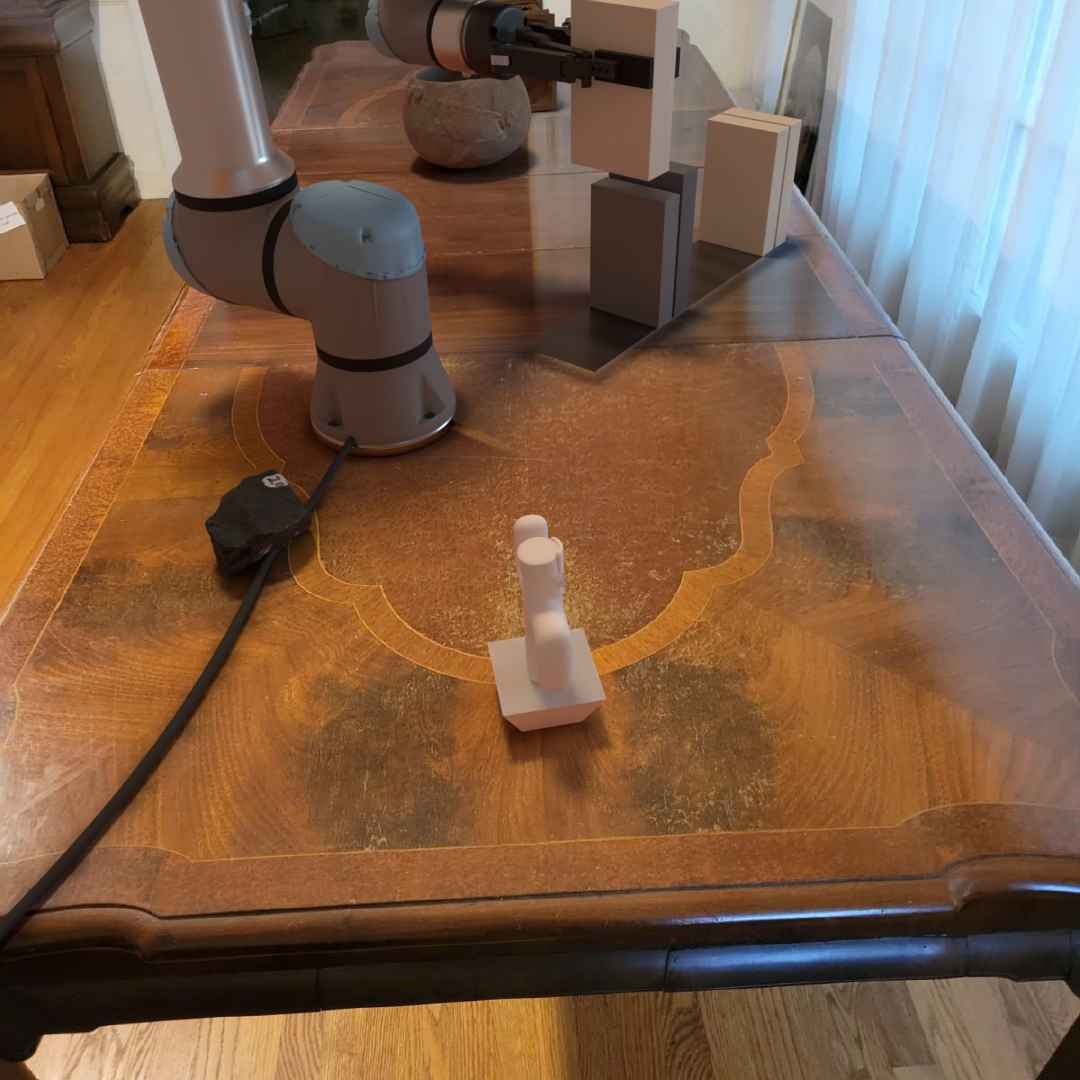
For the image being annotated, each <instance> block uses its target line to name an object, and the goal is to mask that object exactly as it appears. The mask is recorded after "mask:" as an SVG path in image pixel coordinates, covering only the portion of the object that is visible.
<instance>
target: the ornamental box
mask: <svg viewBox="0 0 1080 1080" xmlns="http://www.w3.org/2000/svg"><path fill="white" fill-rule="evenodd" d="M492 1H499V2H506V3H512V4H515V5H517V6H518V7H520V8H521V9H522V11H523V12H524V13H525V15H526V17H527V19H528V21H529V23H530V24H531V23H534V22H541V23H547V24H548V25H549V26H556V15H555V13H554V12H552V13H551V12H550V9H549V8H544V1H543V0H492ZM519 76H520V77H521V79H522V81H523V83H524V85H525V88H526V90H527V94H528V97H529V101H530V107H531V113H532V112H539V111H551V110H552V111H553V110H554V111H555V110H557V109H558V107H557V95H558V93H557V88H558V81H552V80H546V79H540V78H534V77H528V76H522V75H519Z"/></svg>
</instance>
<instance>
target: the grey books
mask: <svg viewBox="0 0 1080 1080" xmlns="http://www.w3.org/2000/svg"><path fill="white" fill-rule="evenodd" d="M698 172H699V167H698V166H696V165H690V164H686V163H681V162H677V161H674V160H673V161H672V160H669V171H667V172H665V173H663V174H661V175H659V176H658V177H656V178H654V179H652V180H650V181H644V180H640V179H636V178H632V177H628V176H623V175H619V174H615V173H611V172H608V176H605V177H603V178H601V179H599V180H597V181H595V182H592V183H591V184H590V232H589V233H590V238H589V239H590V242H589V243H590V244H589V248H590V249H589V307H593V308H596V309H599V310H602V311H605V312H609V313H612V314H615V315H618V316H621V317H624V318H627V319H631V320H634V321H637V322H640V323H643V324H646V325H649V326H652V327H656V328H659V327H660V328H661V326H662V325H663V326H665V325H666V324H667V323H669V322H670V321H672V320H673V319H672V317H675V316H676V317H678V316H679V315H681V314H682V313H684V312H685V311H687V310H688V309H687V304H688V291H689V278H690V265H691V252H692V244H693V236H694V226H695V225H694V224H695V212H696V201H697V200H696V198H697V188H698V187H697V186H698V185H697V184H698V174H699V173H698ZM684 310H685V311H684ZM681 312H682V313H681ZM680 313H681V314H680ZM678 314H679V315H678ZM677 315H678V316H677ZM676 317H675V318H676ZM671 319H672V320H671ZM669 320H670V321H669ZM668 321H669V322H668ZM665 323H666V324H665ZM663 326H662V327H663ZM660 328H659V329H660Z"/></svg>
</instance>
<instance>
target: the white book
mask: <svg viewBox="0 0 1080 1080" xmlns="http://www.w3.org/2000/svg"><path fill="white" fill-rule="evenodd" d="M679 11H680V1H679V0H570V22H571V47H575V48H579V49H583V50H588V51H591V52H592V57H595V50H597V49H602V50H609V51H615V52H621V53H627V54H634V55H640V56H646V57H653V58H654V78H653V88H651V89H649V90H648V89H643V88H637V87H632V86H626V85H620V84H615V83H609V82H604V81H598V80H594V76H592V87H590V88H581V79H577V78H576V82H574V83H572V84H570V164H574V165H579V166H582V167H585V168H586V167H587V168H591V169H595V170H598V171H603V172H608V173H609V172H611V173H615V174H619V175H623V176H628V177H632V178H636V179H640V180H644V181H650V180H652V179H654V178H656V177H658V176H659V175H661V174H663V173H665V172H667V171H669V161H671V159H670V158H671V142H672V126H673V125H672V124H673V112H674V111H673V109H674V92H675V79H676V78H675V63H676V47H678V46H677V45H678V44H677V43H678V29H679V13H680V12H679Z"/></svg>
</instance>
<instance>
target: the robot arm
mask: <svg viewBox="0 0 1080 1080" xmlns="http://www.w3.org/2000/svg"><path fill="white" fill-rule="evenodd" d="M137 3H138V8H139V10H140V14H141V18H142V21H143V25H144V28H145V32H146V35H147V40H148V42H149V45H150V50H151V53H152V57H153V60H154V64H155V68H156V71H157V74H158V78H159V82H160V85H161V88H162V92H163V96H164V99H165V103H166V107H167V111H168V115H169V118H170V121H171V125H172V128H173V131H174V135H175V139H176V143H177V146H178V149H179V153H180V157H181V161H180V163H179V164H178V166H177V167H176V168H175V170H174V172H173V173H172V176H171V179H170V180H171V186H172V189H173V190H172V192H171V193H170V194H169V196H168V198H167V200H166V202H165V205H164V210H165V211H166V213H167V215H166V217H165V218H162V221H161V235H162V242H163V246H164V249H165V252H166V255H167V258H168V260H169V262H170V264H171V266H172V268H173V269H174V271H175V272H176V273H177V275H178V276H179V277H180V278H181V279H182V281H184V282H185V284H186V285H188V286H189V287H191V288H192V289H193V290H195V291H197V292H199V293H201V294H203V295H206V296H209V297H212V298H214V299H215V300H217V301H222V302H224V303H225V304H228V305H229V304H230V305H235V306H246V307H250V308H255V309H258V310H263V311H268V312H271V313H275V314H280V315H284V316H288V317H293V318H297V319H301V320H305V321H308V322H309V323H311V329H312V334H313V339H314V345H315V350H316V354H317V355H316V356H317V362H316V367H315V374H314V378H313V379H314V380H313V386H312V391H311V397H310V404H309V412H310V413H309V415H310V421H311V426H312V430H313V433H314V435H315V437H316V438H317V439H318V440H319V441H320V442H321V443H322V444H324V445H325V446H327V447H329V448H331V449H333V450H335V451H337V454H336V456H335V457H334V458H333V460H332V461H331V464H330V465H329V467H328V468H327V470H326V471H325V473H324V475H323V476H322V479H321V480H320V482H319V483H318V485H317V487H316V489H315V490H314V491H313V493H312V495H311V496H310V497H309V498H308V500H307V501H306V502H305V503H304V504H305V506H306V507H307V509H308V511H309V512H310V513H311V512H312V510H313V509H314V508H315V507H316V505H317V504H318V502H319V501H320V500H321V499H322V497H323V496H324V494H325V492H326V490H327V488H328V487H329V485H330V483H331V482H332V480H333V478H334V477H335V475H336V473H337V472H338V470H339V468H340V467H341V465H342V464H343V463H344V461H345V459H346V458H347V456H348V455H352V456H353V455H354V456H360V457H387V456H396V455H400V454H405V453H409V452H413V451H415V450H419V449H421V448H424V447H426V446H428V445H430V444H432V443H435V442H436V441H437V440H439V439H440V438H442V437H443V436H445V434H447V433H448V432H449V431H450V430H451V428H452V427H453V425H454V424H455V423H456V420H455V419H453V417H454V415H455V413H456V411H457V406H458V405H457V404H458V403H457V402H458V401H457V396H456V392H455V389H454V386H453V384H452V382H451V380H450V377H449V375H448V374H447V371H446V369H445V367H444V365H443V363H442V361H441V358H440V356H439V354H438V352H437V350H436V348H435V346H434V339H433V338H434V337H433V329H432V318H431V307H430V299H429V288H428V276H427V266H426V258H427V250H426V249H427V248H426V244H425V241H424V237H423V234H422V229H421V221H420V217H419V214H418V213H417V211H416V208H415V206H414V205H413V204H412V203H411V201H410V200H409V199H408V198H407V197H405V196H404V195H403V194H402V193H400V192H399V191H397V190H395V189H392V188H390V187H388V186H385V185H383V184H379V183H375V182H371V181H367V180H357V179H350V180H349V181H342V180H340V179H333V180H332V179H331V180H325V181H319V182H316V183H312V184H310V185H307V186H305V187H303V188H304V189H302V190H300V188H301V187H300V183H299V178H298V174H297V170H296V165H295V161H294V159H293V158H292V157H291V156H289V155H288V154H287V153H285V152H284V151H283V150H281V149H280V148H279V147H277V146H276V145H275V143H274V138H273V133H272V129H271V125H270V120H269V115H268V111H267V106H266V102H265V97H264V92H263V88H262V82H261V78H260V74H259V68H258V64H257V59H256V56H255V51H254V46H253V42H252V41H253V40H252V37H251V31H250V27H249V23H248V18H247V13H246V10H245V9H246V8H245V5H244V0H137ZM364 18H365V19H364V24H365V31H366V35H367V38H368V40H369V42H370V44H371V45H372V47H373V48H374V49H375V51H376V52H377V53H379V54H380V55H381V56H384V57H385V58H389V59H392V60H396V61H399V62H402V63H403V64H408V65H418V66H423V67H428V66H430V67H436V68H442V69H447V70H453V71H459V72H462V74H463V77H465V78H469V77H470V76H471V74H474V75H479V76H482V77H487V78H492V79H498V80H510V79H512V78H514V77H515V76H517V75H522V76H528V77H534V78H540V79H546V80H552V81H557V83H564V84H565V83H566V84H568V85H571V84H572V83H574V82H576V78H577V79H581V88H590V87H592V76H594V80H598V81H604V82H609V83H615V84H620V85H626V86H632V87H637V88H643V89H648V90H649V89H651V88H653V78H654V58H653V57H646V56H640V55H634V54H627V53H621V52H615V51H609V50H602V49H597V50H595V57H592V52H591V51H588V50H583V49H579V48H575V47H571V21H568V20H567V21H563V22H562V23H561V26H556V25H555V26H549V25H548V24H547V23H541V22H534V23H531V24H530V23H529V21H528V19H527V17H526V15H525V13H524V12H523V11H522V9H521V8H520V7H518V6H517V5H515V4H512V3H506V2H499V1H492V0H368V3H367V12H366V15H365V16H364ZM681 50H682V48H681V47H680V46H677V47H676V63H675V79H678V78H679V77H680V64H681ZM279 551H280V550H279V549H276V550H274V551H272V552H269V553H267V554H266V555H265V556H264V557H263V559H262V560H260V563H259V565H258V567H257V569H256V571H255V573H254V576H253V578H252V580H251V582H250V585H249V587H248V589H247V592H246V594H245V595H244V597H243V600H242V601H241V604H240V605H239V607H238V609H237V610H236V613H235V614H234V617H233V619H232V620H231V622H230V624H229V626H228V628H227V629H226V631H225V632H224V633H225V634H224V635H223V637H222V638H221V641H220V642H219V643H218V646H217V647H216V649H215V651H214V652H213V655H212V656H211V658H210V659H209V660H208V663H207V664H206V666H205V667H204V669H203V670H202V672H201V674H200V675H199V677H198V679H197V680H196V682H194V685H193V686H192V688H191V690H190V691H189V693H188V694H187V696H186V697H185V699H184V700H183V701H182V704H181V705H180V706H179V708H178V710H177V711H176V712H175V714H174V715H173V716H172V718H171V720H170V721H169V722H168V724H167V725H166V726H165V728H164V729H163V731H162V732H161V733H160V735H159V736H158V737H157V739H156V740H155V742H154V743H153V745H152V746H151V747H150V748H149V750H148V751H147V753H146V754H145V755H144V756H143V758H142V759H141V760H140V762H139V763H138V764H137V766H136V767H135V768H134V770H133V771H132V772H131V773H130V775H128V777H127V778H126V780H125V781H124V782H123V783H122V785H121V786H120V787H119V789H118V790H117V791H116V792H115V794H114V795H113V796H112V797H111V798H110V800H108V802H107V803H106V804H105V805H104V806H103V808H102V809H101V810H100V811H99V812H98V813H97V815H96V816H95V817H94V818H93V819H92V821H91V822H90V823H89V824H88V825H87V826H86V827H85V829H83V831H82V832H80V834H79V835H78V837H76V839H74V841H73V842H72V844H71V845H70V846H69V847H68V848H66V850H65V851H64V852H63V854H62V855H61V856H60V857H59V858H58V859H57V860H56V862H54V863H53V865H51V866H50V868H49V869H48V870H47V871H46V872H45V873H44V874H43V876H42V877H41V878H40V879H39V880H38V881H37V882H36V883H35V884H34V885H33V886H32V887H31V888H30V889H29V890H28V892H27V893H26V894H25V895H24V896H23V897H22V898H21V899H20V900H19V901H18V902H17V903H16V904H15V905H14V906H13V907H12V908H11V909H10V910H9V911H8V912H7V913H6V914H5V915H4V916H3V917H2V918H1V919H0V941H1V940H3V938H5V936H6V935H7V934H8V933H9V932H10V931H11V930H13V928H14V927H15V926H16V925H17V924H18V923H19V921H21V919H23V918H24V916H26V914H28V912H29V911H30V910H32V908H33V907H34V906H35V905H36V904H37V902H38V901H39V900H40V899H41V898H42V897H43V896H44V895H45V894H46V893H47V892H48V891H49V890H50V888H51V887H52V886H53V885H54V884H55V883H56V882H57V881H58V880H59V879H60V878H61V876H62V875H63V874H64V873H65V872H66V871H67V869H68V868H69V867H70V866H71V865H72V864H73V863H74V862H75V860H76V859H78V857H79V856H80V855H81V854H82V853H83V852H84V850H85V849H86V848H87V847H88V846H89V844H90V843H91V842H92V841H93V840H94V839H95V837H96V836H97V835H98V834H99V833H100V832H101V831H102V829H103V828H104V827H105V826H106V825H107V823H108V822H109V821H110V820H111V819H112V817H113V816H114V815H115V814H116V813H117V812H118V810H119V809H120V807H122V806H123V803H125V802H126V800H128V798H129V796H131V794H132V793H133V792H134V790H135V789H136V788H137V786H138V785H139V784H140V783H141V781H142V780H143V779H144V777H145V776H146V775H147V773H149V770H151V768H152V766H153V765H154V764H155V763H156V761H157V760H158V758H159V757H160V756H161V755H162V753H163V752H164V751H165V749H166V748H167V746H168V745H169V744H170V742H172V739H173V738H174V737H175V735H176V734H177V733H178V731H179V729H180V728H181V727H182V725H183V723H184V722H185V721H186V719H187V718H188V716H189V715H190V713H191V712H192V710H193V709H194V707H195V705H196V704H197V702H198V701H199V700H200V698H201V696H202V695H203V693H204V691H205V690H206V688H207V686H208V685H209V684H210V682H211V681H212V678H213V677H214V675H215V674H216V672H217V671H218V669H219V667H220V665H221V663H222V662H223V660H224V658H225V657H226V655H227V653H228V652H229V649H230V648H231V645H232V644H233V642H234V640H235V639H236V637H237V635H238V633H239V631H240V629H241V627H242V625H243V623H244V622H245V620H246V618H247V616H248V614H249V613H250V610H251V608H252V606H253V604H254V602H255V600H256V598H257V595H258V594H259V591H260V589H261V587H262V585H263V582H264V579H265V578H266V576H267V573H268V570H269V568H270V567H271V565H272V562H273V561H274V559H275V557H276V555H277V554H278V553H279Z"/></svg>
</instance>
